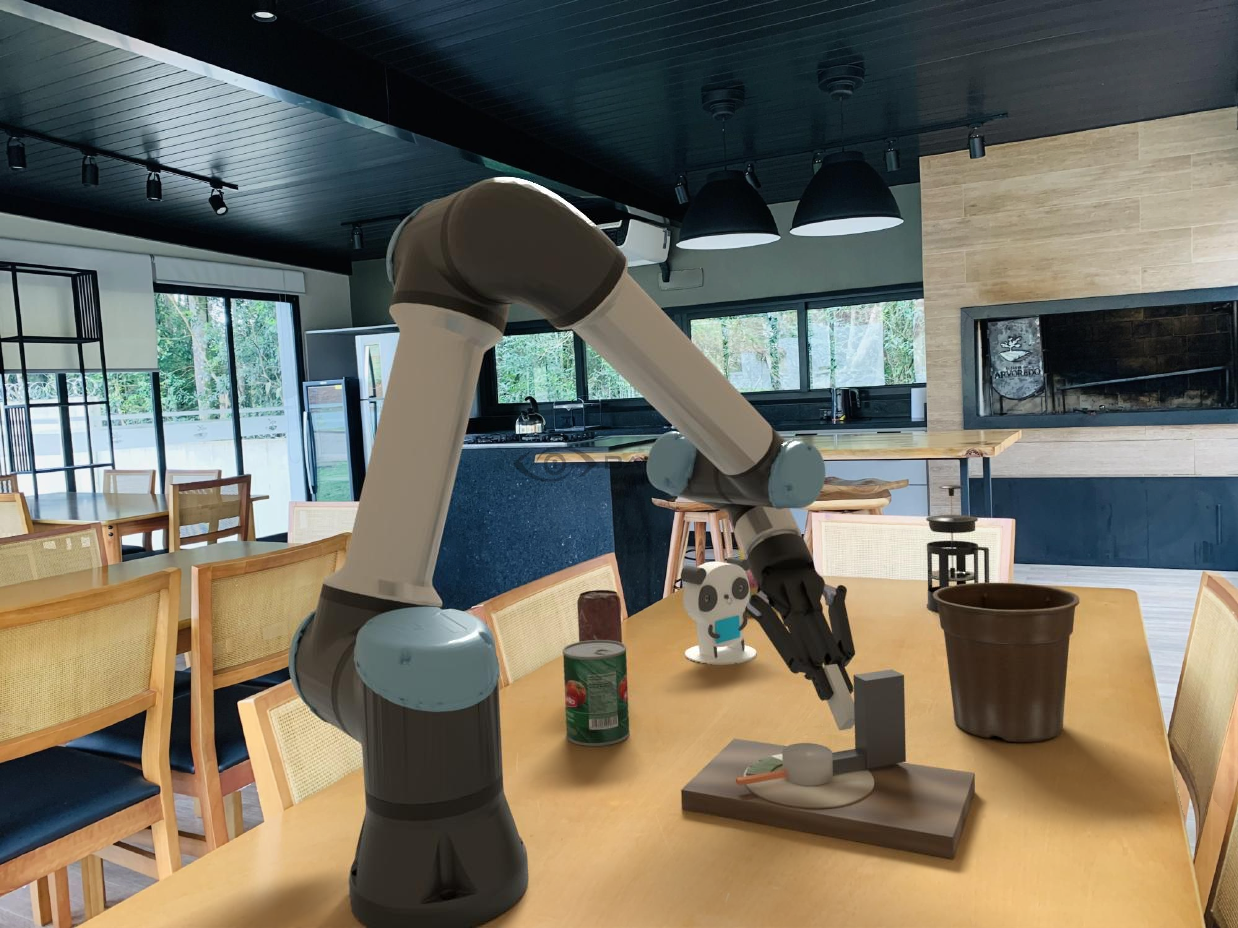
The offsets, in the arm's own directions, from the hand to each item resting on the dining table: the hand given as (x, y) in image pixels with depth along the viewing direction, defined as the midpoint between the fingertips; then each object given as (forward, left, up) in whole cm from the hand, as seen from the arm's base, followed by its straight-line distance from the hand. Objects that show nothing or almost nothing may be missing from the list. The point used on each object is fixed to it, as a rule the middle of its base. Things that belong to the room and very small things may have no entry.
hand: (849, 723), depth 100 cm
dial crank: (-7, +1, -3) cm, 8 cm away
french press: (+81, 0, -6) cm, 81 cm away
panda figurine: (+38, +30, -6) cm, 49 cm away
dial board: (-8, 0, -5) cm, 9 cm away
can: (+16, +39, -6) cm, 43 cm away
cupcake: (+70, +36, -6) cm, 79 cm away
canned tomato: (0, +31, -6) cm, 32 cm away
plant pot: (+21, -14, -6) cm, 25 cm away
